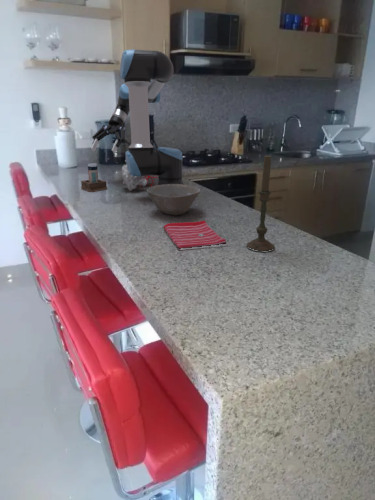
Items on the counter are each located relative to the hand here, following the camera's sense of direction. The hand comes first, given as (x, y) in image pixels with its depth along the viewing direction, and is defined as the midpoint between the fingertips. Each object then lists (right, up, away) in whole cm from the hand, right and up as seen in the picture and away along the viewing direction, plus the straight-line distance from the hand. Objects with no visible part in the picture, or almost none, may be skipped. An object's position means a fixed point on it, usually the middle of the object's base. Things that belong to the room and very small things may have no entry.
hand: (102, 150), depth 207 cm
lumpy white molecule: (+19, -19, +4) cm, 28 cm away
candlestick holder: (+69, -52, -80) cm, 118 cm away
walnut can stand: (-4, -21, -1) cm, 21 cm away
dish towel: (+47, -49, -70) cm, 98 cm away
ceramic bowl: (+39, -37, -42) cm, 69 cm away
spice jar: (-4, -20, -2) cm, 20 cm away
